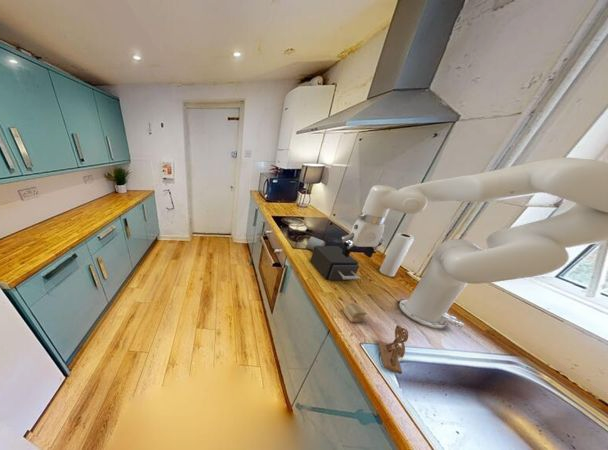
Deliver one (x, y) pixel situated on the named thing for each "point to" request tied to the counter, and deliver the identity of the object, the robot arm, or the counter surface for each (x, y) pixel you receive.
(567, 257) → the robot arm
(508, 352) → the counter surface
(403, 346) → the brown irregular upright piece
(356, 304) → the block
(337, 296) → the counter surface
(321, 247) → the black drawer cabinet housing
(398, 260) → the paper towel roll
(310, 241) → the ceramic mug
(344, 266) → the black pull-out drawer
